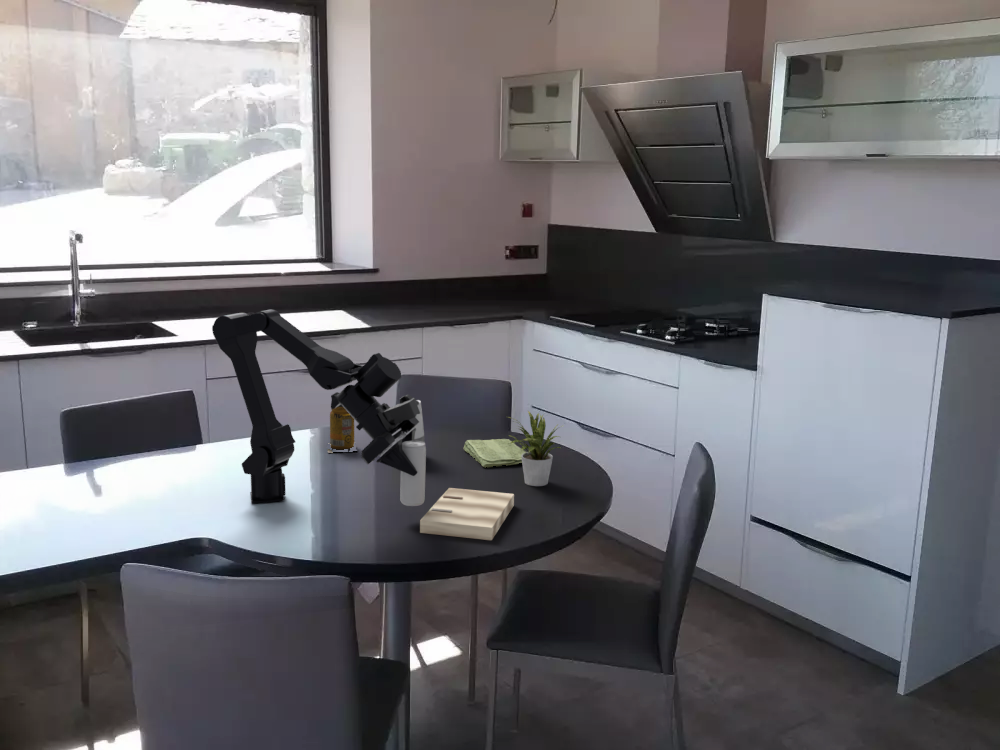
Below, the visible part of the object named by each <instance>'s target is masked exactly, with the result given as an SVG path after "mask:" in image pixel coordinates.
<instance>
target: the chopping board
mask: <svg viewBox="0 0 1000 750" xmlns="http://www.w3.org/2000/svg"><path fill="white" fill-rule="evenodd" d="M514 505H515V494H514V493H508V492H507V493H506V492H497V491H487V490H475V489H465V488H454V487H448V489H447V490H446V491H444V493H443V494H442V495H441V496H440V497H439V498H438V499H437V500H436V502H435V503H434V504H433V505H432V506H431V507H430V509H429V510H428V511H427V512H426V513H425V514H424V515H423V516H422V517H421V519H420V520H419V533H420V534H429V535H437V536H438V535H440V536H448V537H454V538H455V537H458V538H465V539H466V538H467V539H475V540H485V541H493V539H494V538H495V536H496V535H497V533H498V531H499V530H500V528H501V527H502V525H503V523H504V522H505V520H506V519H507V517H508V515H509V513H511V510H512V509H513V507H514Z"/></svg>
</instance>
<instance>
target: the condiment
mask: <svg viewBox="0 0 1000 750" xmlns="http://www.w3.org/2000/svg"><path fill="white" fill-rule="evenodd" d="M330 410H331V411H330V412H329V442H330V443H329V444H330V445H331V446H330V447H331V448H332V449H336V450H344V449H350V448H352V447H354V443H356V442H355V419H354V418H353V417H352V416H351V415H350V414H349V413H348V412H347V410H346V409H345V408H344V407H343V406H342V405H339V406H338V407H336V408H334V409H331V408H330ZM327 453H331V454H334V453H333V452H332V450H330V449H327Z"/></svg>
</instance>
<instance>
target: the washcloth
mask: <svg viewBox="0 0 1000 750" xmlns="http://www.w3.org/2000/svg"><path fill="white" fill-rule="evenodd" d="M512 441H513V440H510V439H507V438H501V439H500V438H498V439H493V438H492V439H484V440H483V439H467V440H466V441H465V442H464V446H463V447H462V448H463V450H464V451H465V452H466V453H467V454H468V453H469V454H470V455H469V454H468V455H469V456H472V457H473V458H472V457H471V458H472V459H474V458H475V459H474V460H475V461H476V462H478V463H479V464H480V465H481V466H482V467H483V468H486V467H487V468H494V467H493V466H496V467H503V466H502V465H506V466H513V465H520V464H519V463H522V457H521V455H522V454H523V453H526V452H527V450H525V449H524V450H522V451H521V449H522V447H520V446H518V445H517V444H516V442H514V443H511V442H512ZM510 443H511V444H510ZM509 444H510V445H509ZM506 466H505V467H506ZM487 468H486V469H487Z"/></svg>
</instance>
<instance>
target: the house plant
mask: <svg viewBox="0 0 1000 750" xmlns="http://www.w3.org/2000/svg"><path fill="white" fill-rule="evenodd" d="M527 412H528V415H529V422H530V428H531V432H532V434H530V433H529V432H528V431H527V429H525V428H524V426H523V425H522V424H521V422H520V421H518V419H515V418H513V417H510V416H507V418H509V419H513V420H514V421H513V420H512V422H514V423H517V424H519V425H520V426H518V425H517V427H518V428H519V431H520V432H521V433H523V435H524V436H525V438H522V439H521V440H519V439H518V438H516V437H515V436H512V435H507V436H509V437H512V439H513V438H514V440H511V441H512V442H511V443H518V444H519V445H521V451H522V450H524V451H526V453H523V454H522V455H521V457H522V464H521V465H522V471H523V478H524V484H526V485H527V486H531V487H543V486H547V485H548V483H549V477H550V473H551V470H552V469H551V468H552V463H553V459H554V458H553V457H554V456H553V455H552V454H551V453H550V452H551V451H552V450H554V449H558V448H559V449H561V446H556V447H552V446H553V445H555V443H554V442H553V441H552V440H554V439H555V438H560V436H559V435H554V433H555V432H556V431H557V430H558V429H560V428H561V427H563V425H561V426H560V427H557V426H558V425H556V426H555V427H554V428H553V429H552V430H551V432H550V433H549V434H548V436H547V438H546V439H545V440H544V438H545V432H546V420H545V417H543V416H544V415H545V413H544V414H542V415H541V414H540V413H539V412H538V413H537V414H536V416H535V418H534V416H533V414H532V413H531V412H530V411H529V410H527ZM553 435H554V436H553ZM525 441H526V442H528V444H529V445H528V444H527V443H526V442H525ZM511 443H510V444H511ZM510 444H509V445H510ZM551 447H552V448H551Z"/></svg>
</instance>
